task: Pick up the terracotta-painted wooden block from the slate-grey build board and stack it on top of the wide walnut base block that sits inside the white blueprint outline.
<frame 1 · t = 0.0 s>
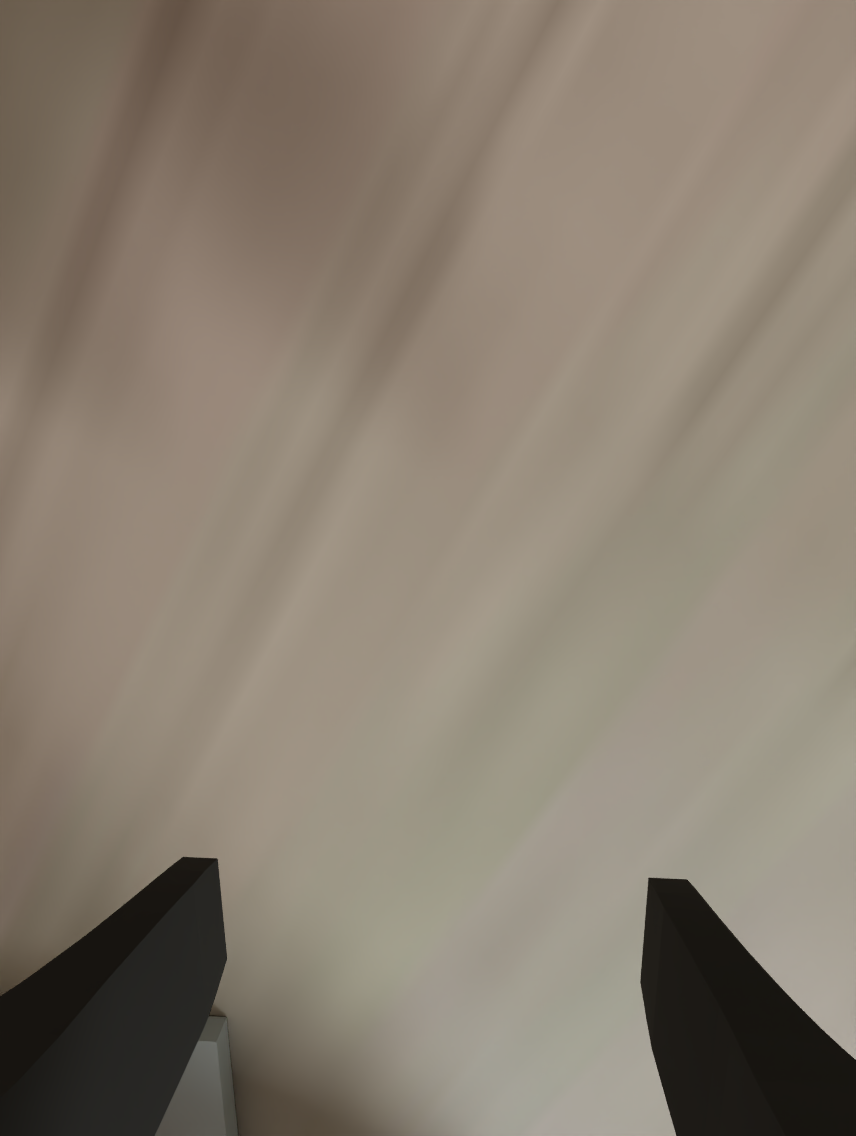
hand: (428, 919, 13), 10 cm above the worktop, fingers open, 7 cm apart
build board: (6, 1131, 29), on the worktop
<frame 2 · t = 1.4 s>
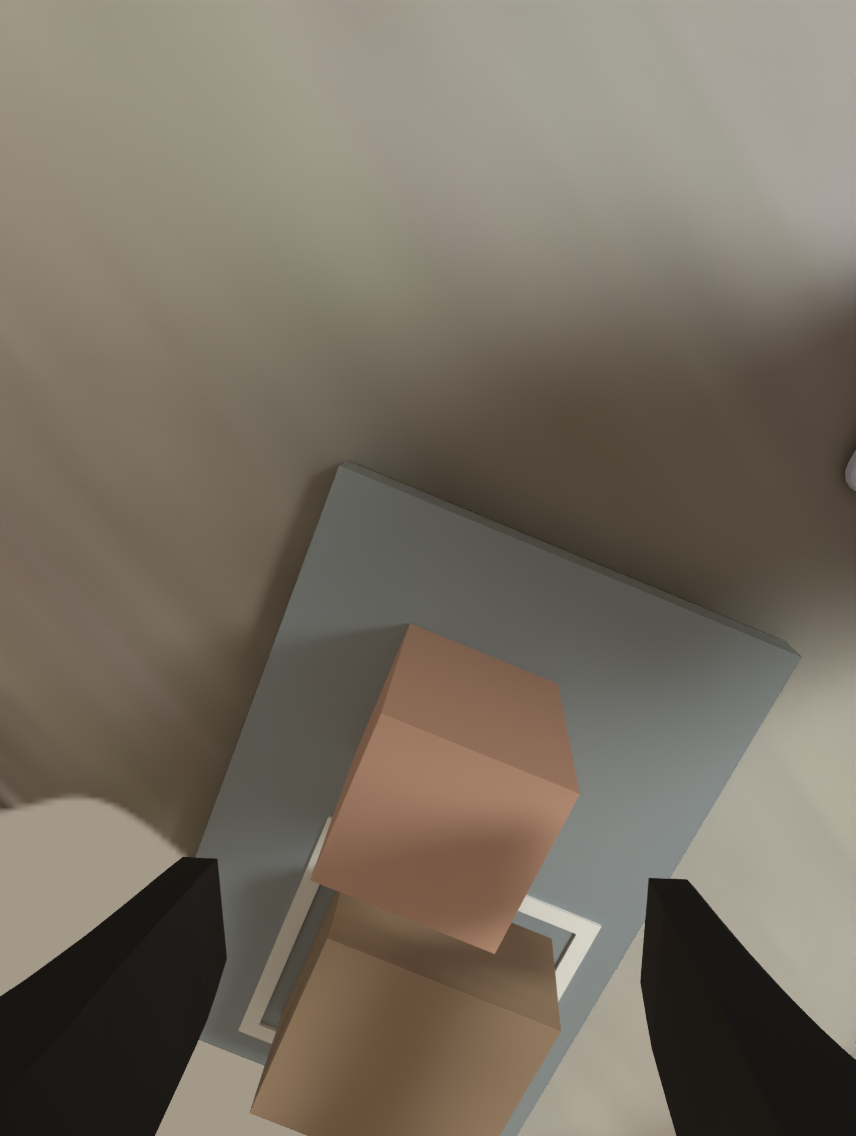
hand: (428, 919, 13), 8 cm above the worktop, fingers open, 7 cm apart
base block: (411, 978, 22), point 1 cm above the worktop, touching build board
build board: (434, 834, 21), on the worktop
top block: (453, 720, 19), point 1 cm above the worktop, touching build board
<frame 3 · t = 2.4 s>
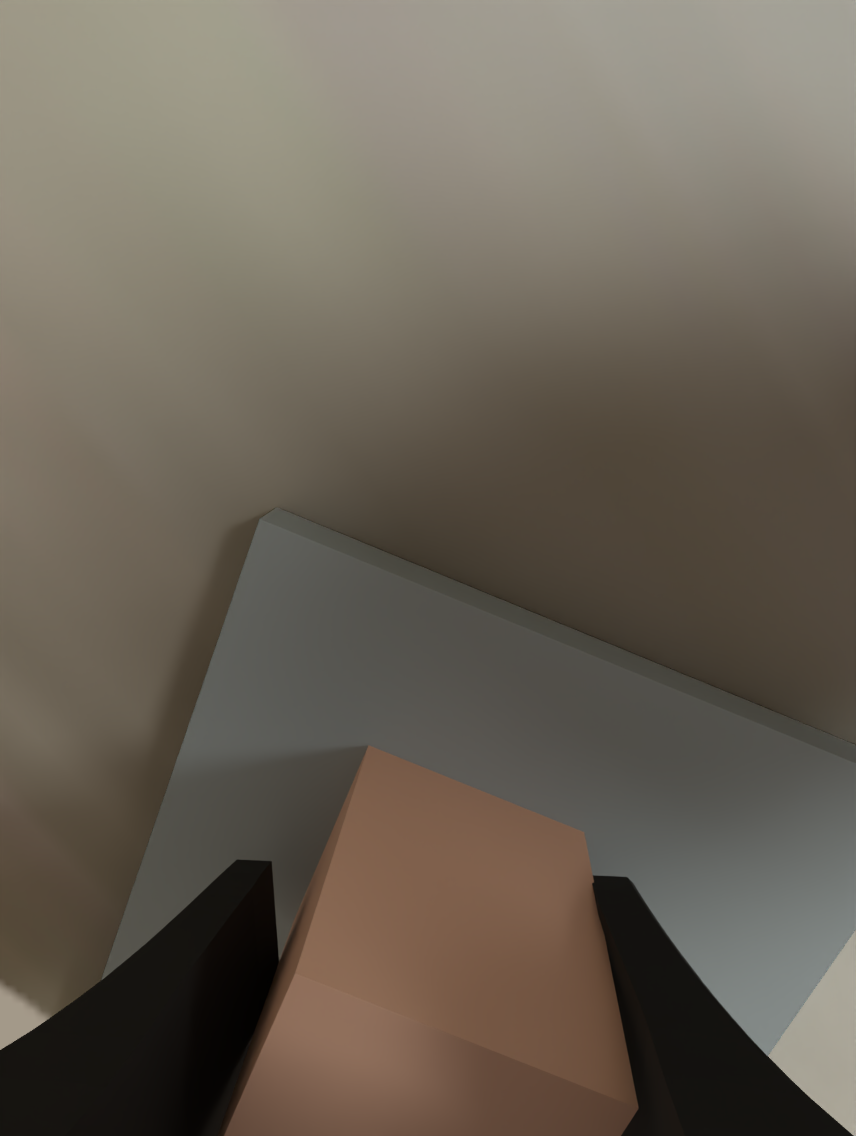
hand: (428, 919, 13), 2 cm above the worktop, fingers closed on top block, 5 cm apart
build board: (408, 1015, 16), on the worktop
top block: (433, 879, 13), point 1 cm above the worktop, touching build board, gripper
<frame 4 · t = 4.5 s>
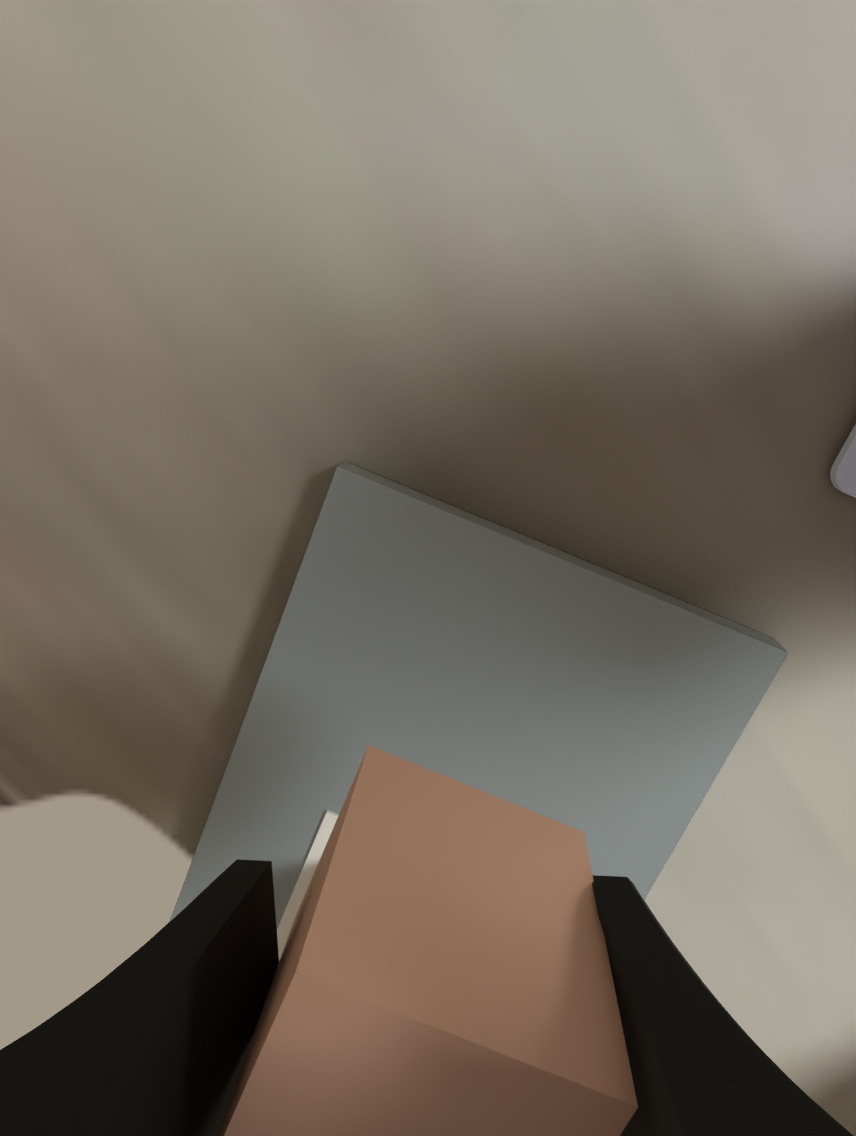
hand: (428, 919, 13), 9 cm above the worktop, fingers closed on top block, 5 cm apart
build board: (430, 828, 22), on the worktop
top block: (433, 879, 14), point 8 cm above the worktop, touching gripper
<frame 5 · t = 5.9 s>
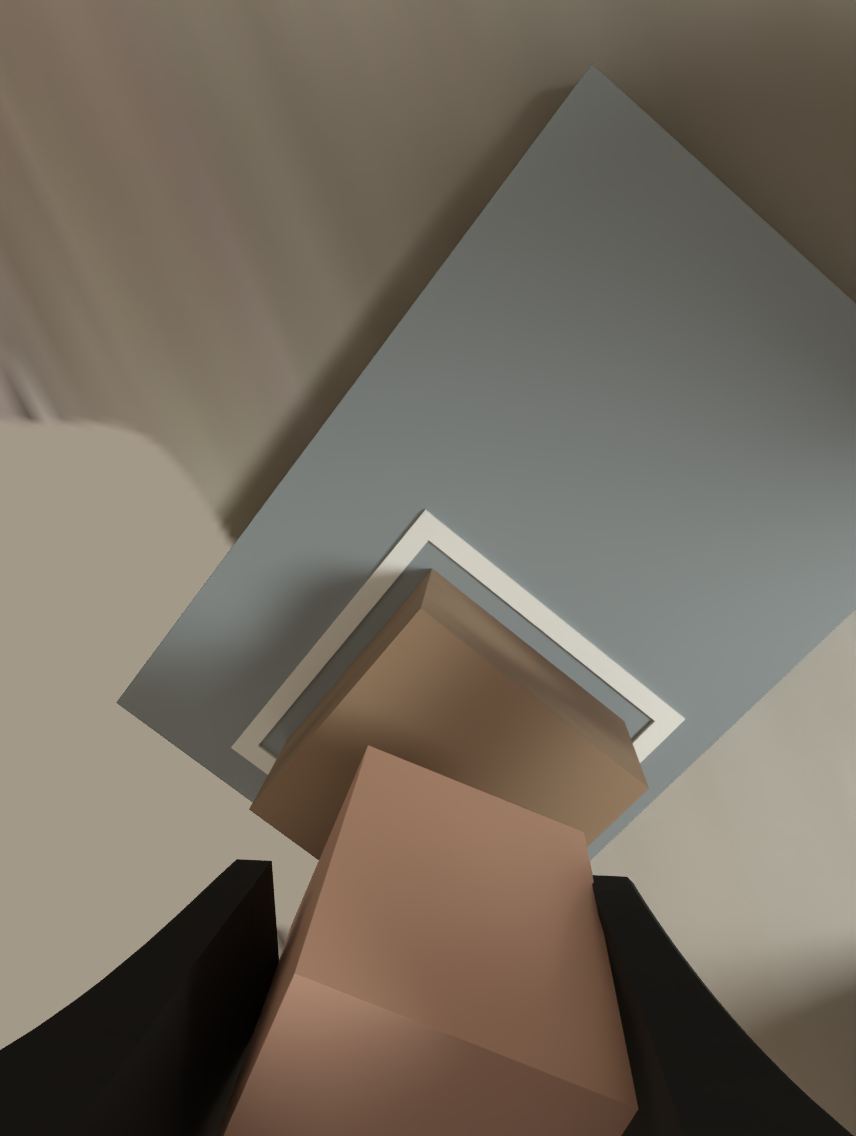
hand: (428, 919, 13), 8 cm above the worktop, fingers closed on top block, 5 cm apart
base block: (450, 732, 19), point 1 cm above the worktop, touching build board
build board: (523, 577, 19), on the worktop
top block: (432, 879, 13), point 7 cm above the worktop, touching gripper
when the fingers open (7 cm above the worktop, at t = 6.6 s): top block drops 2 cm, resting on base block.
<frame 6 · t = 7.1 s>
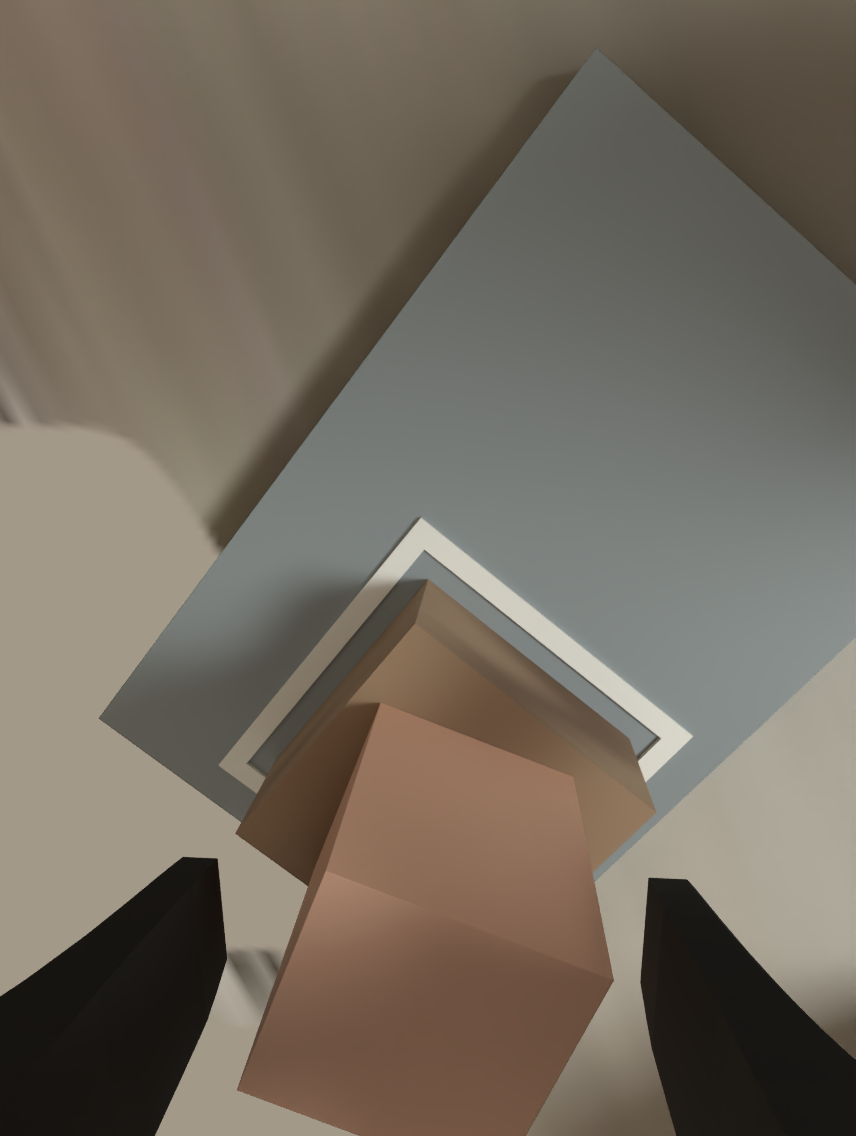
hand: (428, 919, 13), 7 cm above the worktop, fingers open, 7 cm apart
base block: (447, 749, 18), point 1 cm above the worktop, touching build board, top block
build board: (523, 588, 18), on the worktop
top block: (440, 823, 15), point 4 cm above the worktop, touching base block
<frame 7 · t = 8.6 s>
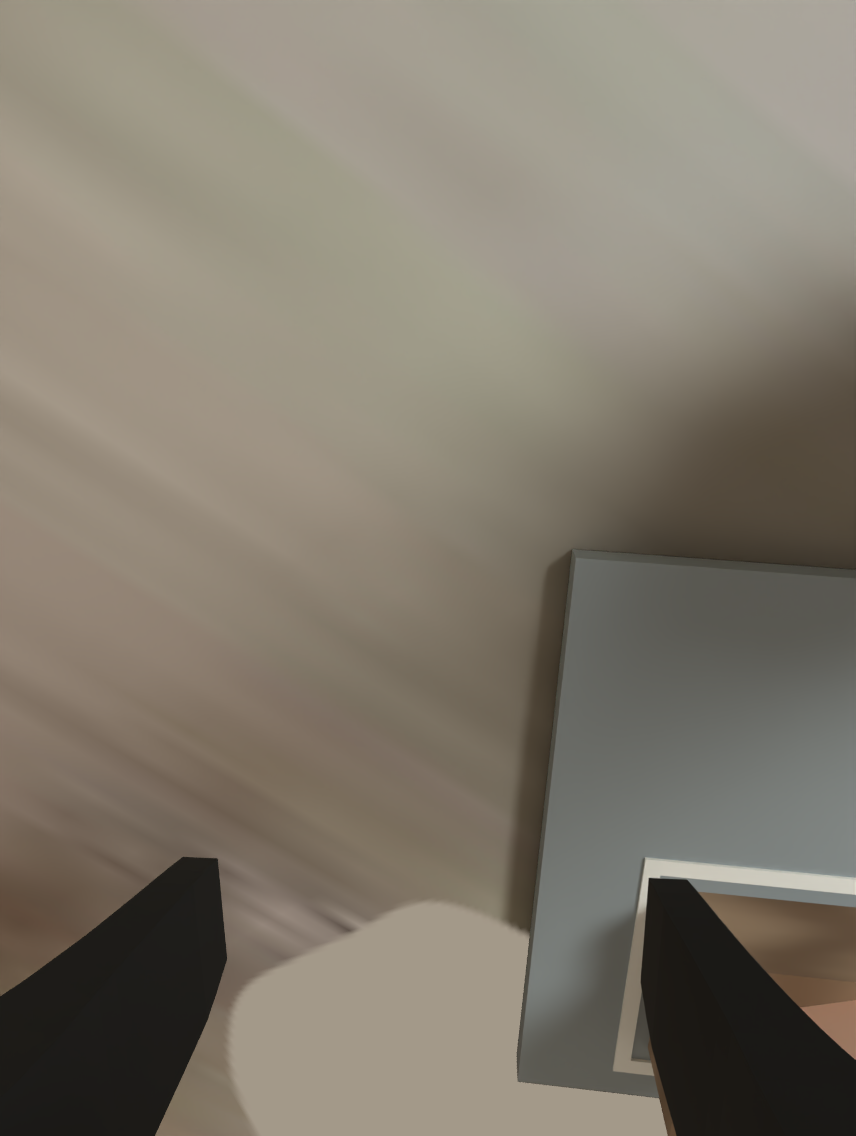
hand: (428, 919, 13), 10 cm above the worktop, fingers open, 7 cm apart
base block: (759, 981, 23), point 1 cm above the worktop, touching build board, top block
build board: (737, 846, 23), on the worktop
top block: (797, 1068, 20), point 4 cm above the worktop, touching base block
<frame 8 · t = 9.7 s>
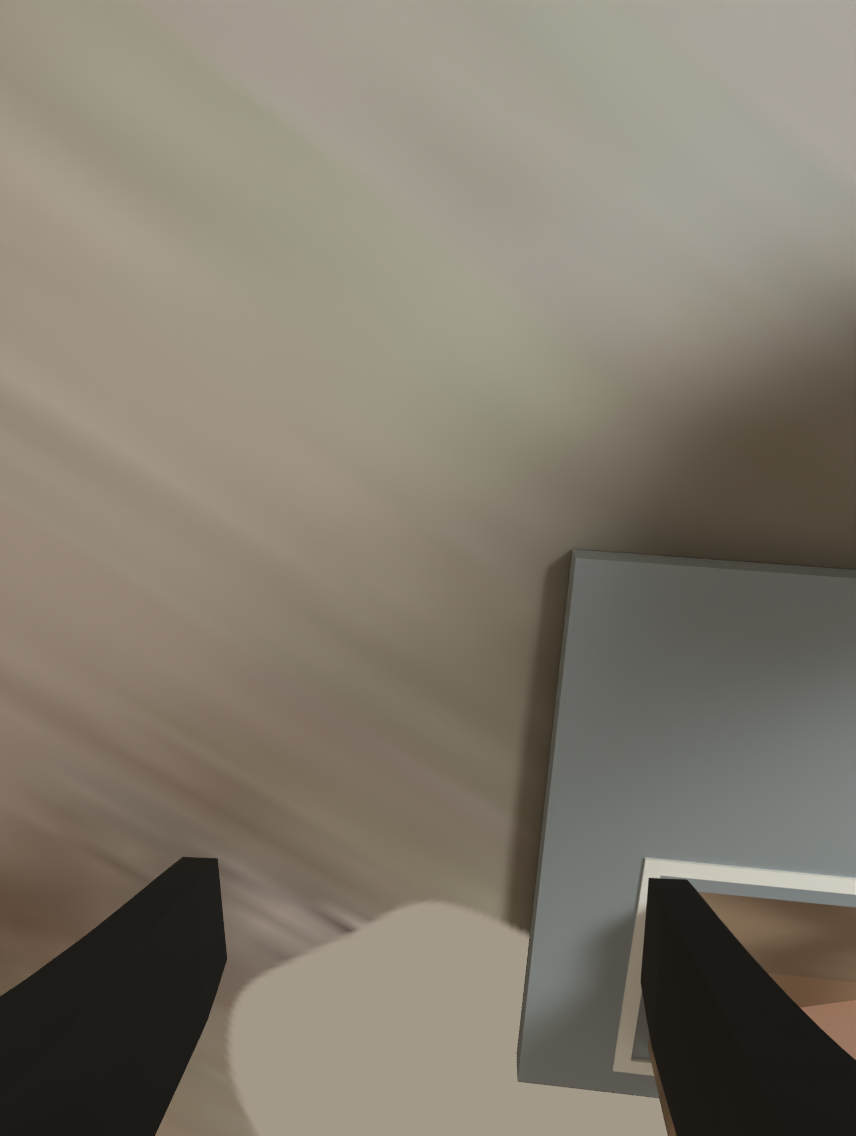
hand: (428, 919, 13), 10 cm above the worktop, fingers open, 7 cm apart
base block: (759, 981, 23), point 1 cm above the worktop, touching build board, top block
build board: (737, 846, 23), on the worktop
top block: (797, 1068, 20), point 4 cm above the worktop, touching base block
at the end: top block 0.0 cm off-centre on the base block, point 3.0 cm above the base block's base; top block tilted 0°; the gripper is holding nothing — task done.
